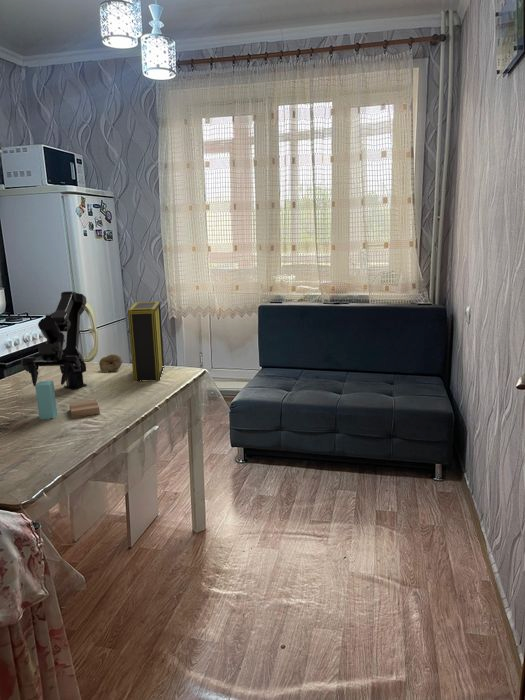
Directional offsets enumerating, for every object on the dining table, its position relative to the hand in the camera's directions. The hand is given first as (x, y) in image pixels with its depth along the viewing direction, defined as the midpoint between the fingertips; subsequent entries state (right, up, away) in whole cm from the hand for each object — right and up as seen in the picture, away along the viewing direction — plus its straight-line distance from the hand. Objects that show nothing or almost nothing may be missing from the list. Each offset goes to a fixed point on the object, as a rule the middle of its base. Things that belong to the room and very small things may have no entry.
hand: (48, 385), depth 180 cm
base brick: (+11, -10, +3) cm, 15 cm away
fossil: (+6, +3, +55) cm, 55 cm away
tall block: (0, -11, -1) cm, 11 cm away
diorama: (+25, +1, +47) cm, 53 cm away
